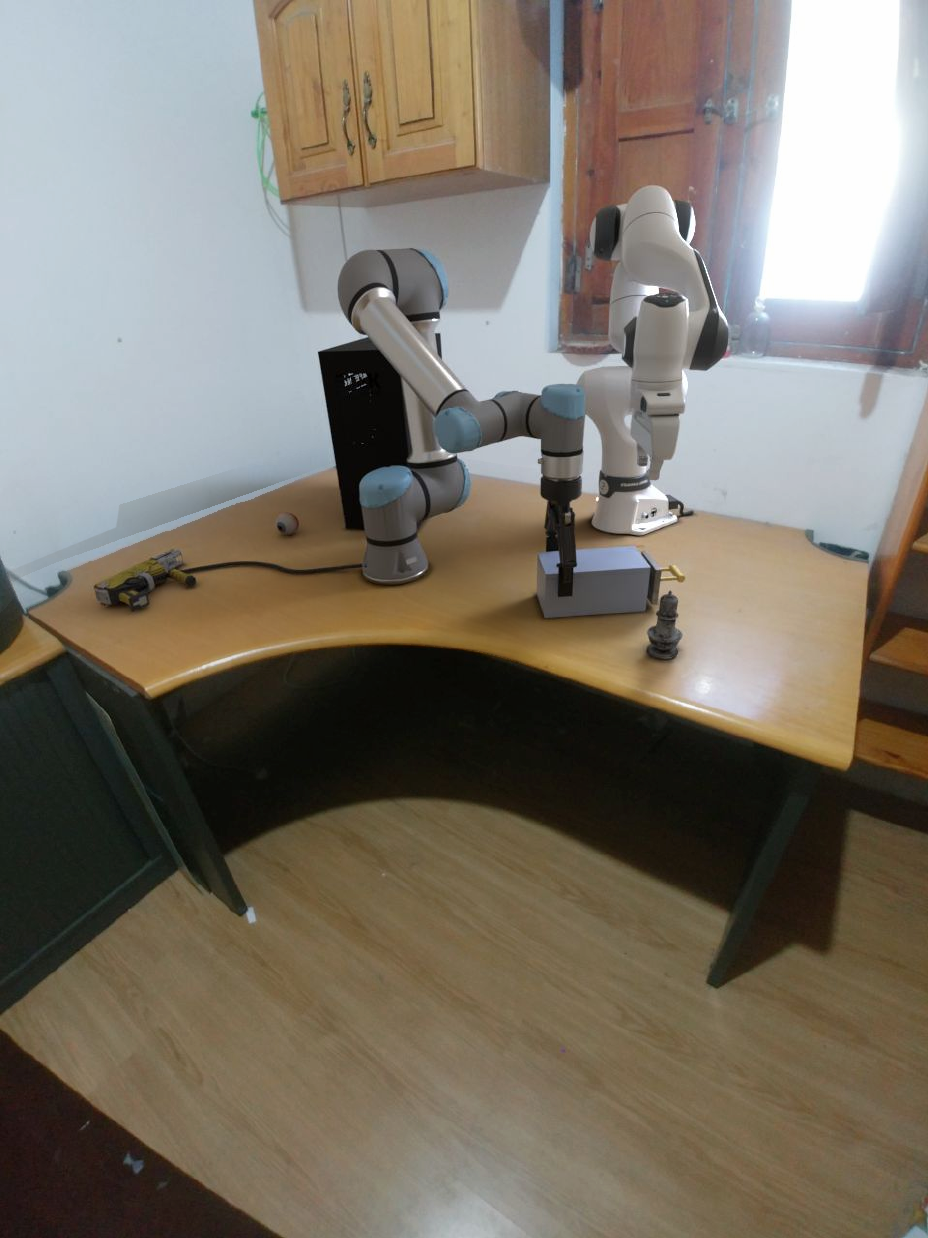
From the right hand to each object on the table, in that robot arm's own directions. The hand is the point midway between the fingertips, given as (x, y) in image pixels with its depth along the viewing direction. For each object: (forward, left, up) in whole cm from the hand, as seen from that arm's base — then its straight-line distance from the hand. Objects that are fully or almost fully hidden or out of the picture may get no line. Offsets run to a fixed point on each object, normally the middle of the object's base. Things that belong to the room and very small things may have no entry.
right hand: (647, 472), depth 115 cm
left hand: (+18, -2, -20) cm, 27 cm away
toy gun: (+92, -55, -25) cm, 110 cm away
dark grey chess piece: (+11, +21, -25) cm, 35 cm away
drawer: (+6, +2, -24) cm, 25 cm away
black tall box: (+25, -77, -25) cm, 84 cm away
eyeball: (+59, -72, -25) cm, 97 cm away
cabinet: (+12, 0, -25) cm, 28 cm away
